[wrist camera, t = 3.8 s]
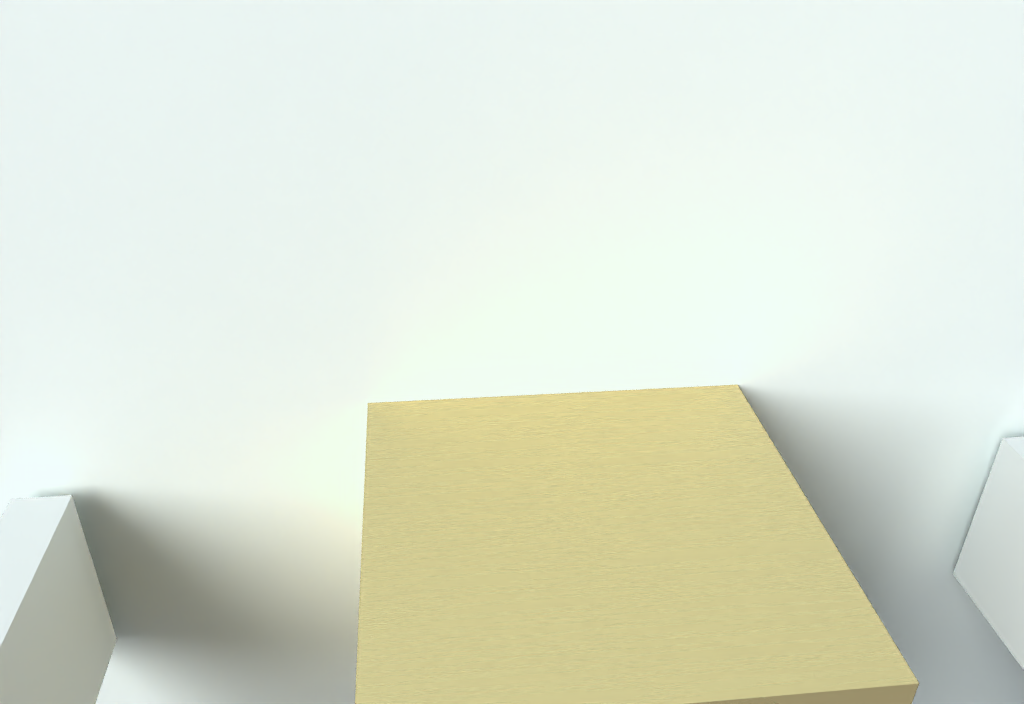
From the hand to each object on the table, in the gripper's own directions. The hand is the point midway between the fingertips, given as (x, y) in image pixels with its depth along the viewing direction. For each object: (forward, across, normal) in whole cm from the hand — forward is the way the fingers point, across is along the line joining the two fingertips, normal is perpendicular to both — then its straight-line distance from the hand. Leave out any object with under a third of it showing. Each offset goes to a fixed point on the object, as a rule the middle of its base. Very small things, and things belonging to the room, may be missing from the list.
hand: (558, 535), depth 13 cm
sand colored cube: (0, 0, 0) cm, 0 cm away
